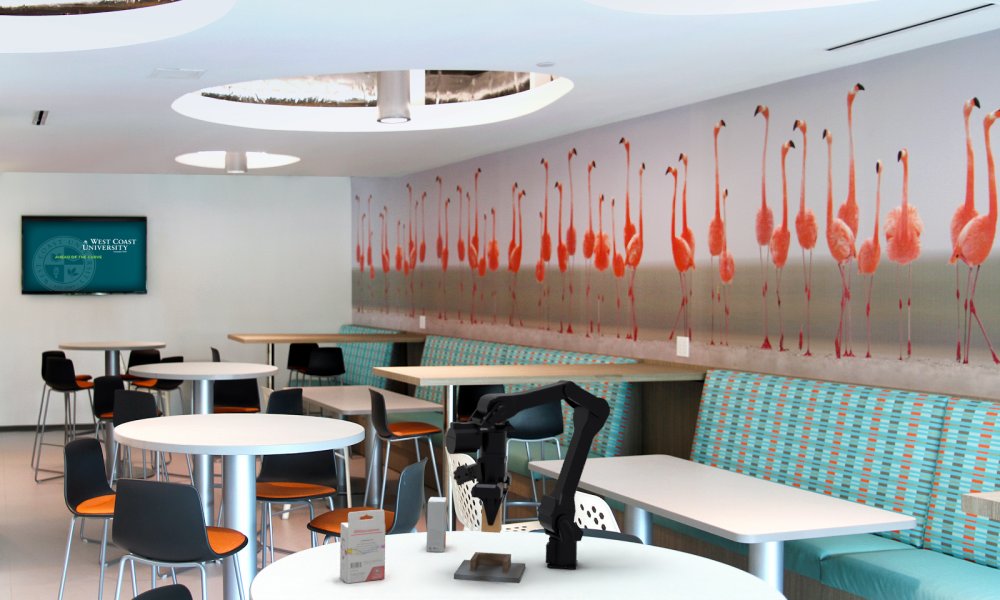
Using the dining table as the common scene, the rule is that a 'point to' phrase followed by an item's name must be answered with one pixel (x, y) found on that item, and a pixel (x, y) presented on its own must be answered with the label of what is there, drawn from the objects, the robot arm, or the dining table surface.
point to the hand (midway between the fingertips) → (491, 523)
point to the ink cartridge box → (363, 547)
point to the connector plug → (497, 524)
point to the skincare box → (436, 524)
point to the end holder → (490, 568)
